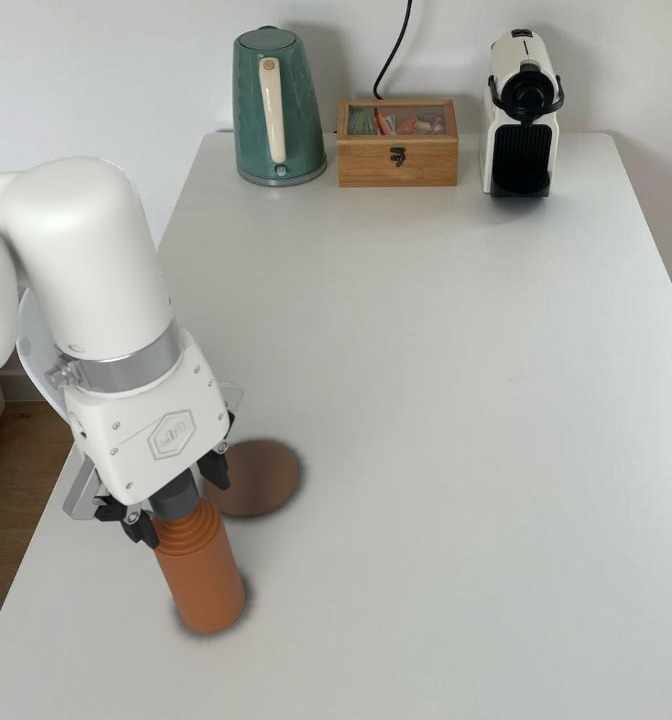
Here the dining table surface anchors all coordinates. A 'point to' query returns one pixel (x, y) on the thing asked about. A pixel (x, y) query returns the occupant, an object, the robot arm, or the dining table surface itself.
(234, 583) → the sauce bottle
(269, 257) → the dining table surface
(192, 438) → the robot arm
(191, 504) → the cap
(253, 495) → the coaster
